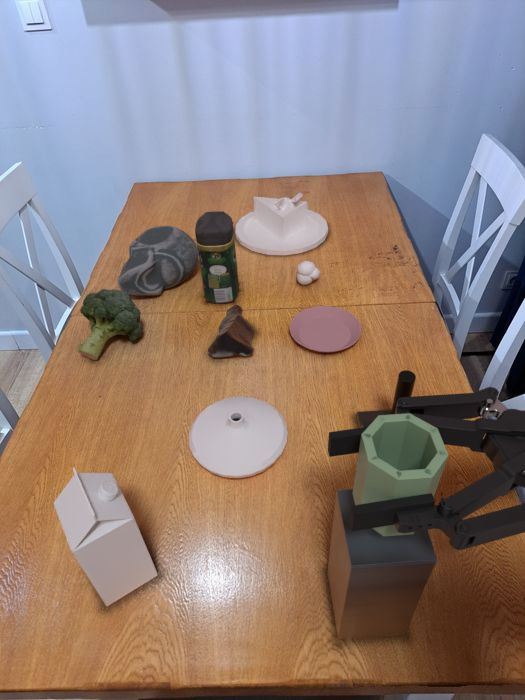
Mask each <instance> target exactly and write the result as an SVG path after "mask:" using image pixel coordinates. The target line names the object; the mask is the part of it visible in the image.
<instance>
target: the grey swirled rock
mask: <svg viewBox="0 0 525 700" xmlns="http://www.w3.org/2000/svg"><path fill="white" fill-rule="evenodd" d="M128 256H129V258H128V259H127V261H126V262H124V263H123V265H122V267H121V270H120V273H119V275H118V276H117V284H118V288H119V289H120V291H126V292H127V293H128V294H129V295H130V296H159V295H161V294H162V293H163V291H164V289H171V288H174V287H176V286H178V285H180V284H181V283H183V282H184V281H185V280H187V279H188V278H189V277H190V276H191V275H192V273H193V272H194V271H195V269H196V267H197V265H198V262H199V254H198V248H197V242H196V241H195V240H194V239H193V237H191V235H190V234H188V233H187V232H185V231H184V230H182V229H181V228H179V227H176V226H173V225H159V226H158V225H157V226H153V227H150V228H148V229H145V230H144V231H142V232H141V233H140V235H138V236H137V237H136V238H135V239H134V240H132V241H131V242H130V244H129V245H128Z"/></svg>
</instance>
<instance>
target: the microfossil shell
mask: <svg viewBox="0 0 525 700" xmlns="http://www.w3.org/2000/svg"><path fill="white" fill-rule="evenodd" d="M296 267H297V268H296V272H297V273H296V280H297V282H298V283H299V284H300V285H301V286H308V285H310V284H311V283H312V282H313V281H316V280H318V279H319V278H320V275H321V271H320V270H319V268H318V267H316V265H315V263H313V262H312V261H310V260H304V261H301V262H300V263H299V264H298V266H296Z"/></svg>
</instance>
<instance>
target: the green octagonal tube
mask: <svg viewBox="0 0 525 700" xmlns="http://www.w3.org/2000/svg"><path fill="white" fill-rule="evenodd" d="M448 458H449V453H448V450H447V448H446V445H445V444H444V443H443V440H442V438H441V436H440V433H439V431H438V428H436V427H434V426H432V425H430V424H428V423H427V422H425V421H423V420H421V419H419V418H417V417H416V416H414V415H412V414H410V413H405V414H392V415H379V416H378V417H377V418H376V419H375V420H374V421H373V422H372V423H371V424H370V425H369V427H368V428H367V429H366V430H365V431H364V432H363V433H362V434H361V441H360V447H359V453H357V460H356V466H355V467H356V468H355V474H354V481H353V486H352V487H353V488H352V489H353V498H354V502H355V505H360V504H366V503H372V502H379V501H385V500H391V499H398V498H404V497H410V496H417V495H423V494H429V493H432V495H433V497H434V498H435V494H436V491H437V489H438V486H439V484H440V481H441V478H442V475H443V472H444V469H445V467H446V464H447V461H448ZM372 529H374V530H375V531H377V532H378V533H380V534H381V535H382V536H396V535H409V534H414V533H415V532H411V533H405V534H404V533H399V532H397V530H396V527H395V525H389V526H383V527H377V528H372Z"/></svg>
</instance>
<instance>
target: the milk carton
mask: <svg viewBox="0 0 525 700" xmlns="http://www.w3.org/2000/svg"><path fill="white" fill-rule="evenodd" d="M71 469H72V471H73V474H74V475H73V476H72V477H71V478H70V480H69V481H68V483H67V484H66V485H65V486H64V488H63V489H62V491H61V492H60V493H59V495H58V496H57V497H56V499H55V500H54V501H53V506H54V509H55V512H56V514H57V517H58V519H59V522H60V525H61V528H62V530H63V533H64V536H65V539H66V541H67V544H68V547H69V549H70V551H71V553H72V555H73V557H74V558H75V560H76V561H77V563H78V564H79V566H80V567H81V569H82V570H83V572H84V574H85V575H86V577H87V579H88V580H89V581H90V583H91V585H92V587H93V588H94V589H95V591H96V592H97V594H98V595H99V597H100V598H101V600H102V602H103V603H104V605H105V606H106V607H109V606H111V605H113V604H114V603H115V602H117V601H119V600H121V599H122V598H124V597H125V596H127V595H128V594H130V593H132V592H133V591H135V590H137V589H138V588H140V587H142V586H143V585H144V584H146V583H148V582H149V581H151V580H153V579H155V578H156V577H157V576H158V574H159V573H158V572H157V569H156V566H155V564H154V561H153V560H152V557H151V554H150V552H149V550H148V547H147V545H146V543H145V540H144V538H143V535H142V533H141V531H140V528H139V526H138V523H137V521H136V518H135V517H134V514H133V512H132V510H131V508H130V505H129V504H128V502H127V500H126V498H125V496H124V493H123V492H122V490H121V487H120V485H119V484H118V481H117V480H116V478H115V476H114V475H113V474H112V473H111V472H77V471H76V468H75V467H72V468H71Z"/></svg>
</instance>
